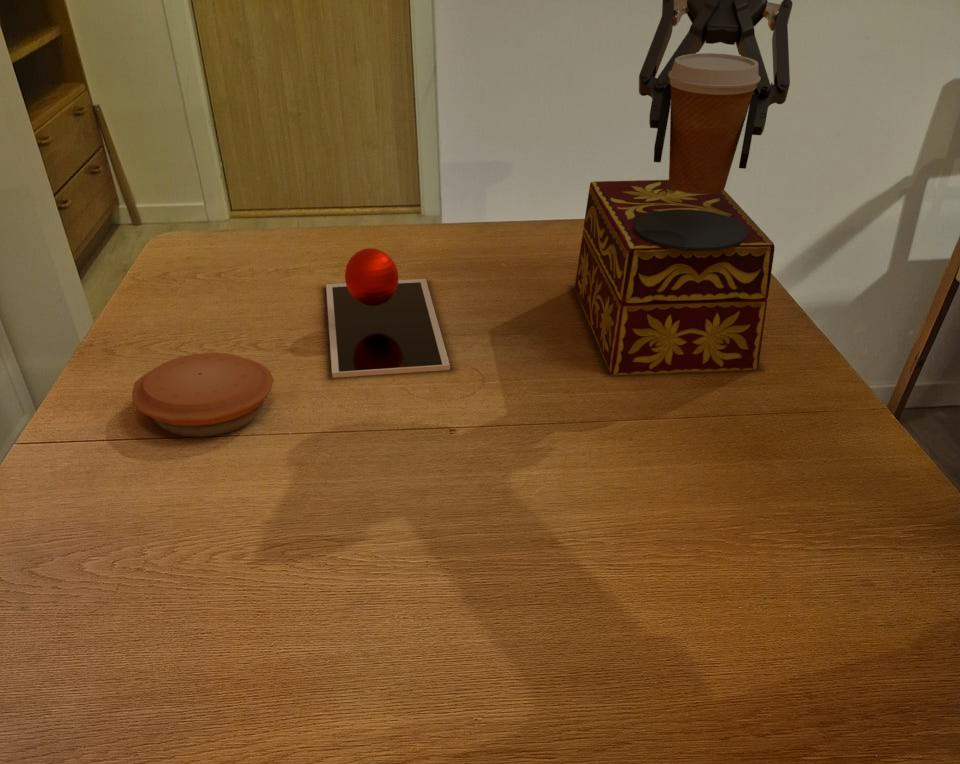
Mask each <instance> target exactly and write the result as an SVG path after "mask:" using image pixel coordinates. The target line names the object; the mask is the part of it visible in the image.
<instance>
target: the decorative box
mask: <svg viewBox="0 0 960 764" xmlns="http://www.w3.org/2000/svg"><path fill="white" fill-rule="evenodd" d="M678 209H684V210H700V211H707V212H713V213H717V214H721V215H725V216H728V217H730V218H733V219H735V220H737V221H739V222H741V223H742V224H743V225H744V226H745V227H746V228H747V231H748V234H747V238H746V240H745V241H744V242H743V243H741V244H739V245H737V246H735V247H731V248H728V249H723V250H716V251H685V250H677V249H671V248H666V247H662V246H658V245H655V244H652V243H650V242H647V241H645V240H644V239H642V238H640V237H639V236H638V235H637V234H636V233H635V231H634V225H635V222H636V220H637V219H638V218H640V217H642V216H644V215H646V214H649V213H653V212H657V211H664V210H678ZM583 220H584V222H583V230H582V234H581V242H580V248H579V255H578V262H577V268H576V274H575V283H574V290H575V293H576V295H577V299H578V301H579V303H580V306H581V309H582V310H583V312H584V315H585V317H586V320H587V322H588V325H589V327H590V329H591V331H592V334H593V337H594V339H595V341H596V344H597V346H598V348H599V351H600V353H601V355H602V358H603V360H604V362H605V364H606V367H607V370H608V371H609V373H610V375H611V376H628V375H630V376H631V375H632V376H633V375H655V374H656V375H657V374H682V373H705V372H706V373H707V372H710V373H711V372H731V371H732V372H733V371H755V370H758V369H759V364H760V357H761V351H762V343H763V337H764V336H763V335H764V328H765V322H766V314H767V308H768V307H767V306H768V300H767V299H768V298H769V292H770V286H771V279H772V272H773V271H772V270H773V264H774V258H775V257H774V256H775V248H776V247H775V244H774V242H773V241H772V240H771V239H770V238H769V236H767V234H766V233H765V232H764V231H763V229H761V227H760V226H758V224H757V223H756V222H755V221H754V220H753V219H752V217H750V216H749V215H748V214H747V212H745V211H744V209H743V208H742V207H741V206H740V205H739V204H738V203H737V202H736V201H735V200H734V199H733V197H732V196H731V195H730V194H729V193H728V192H727V191H726V190H725V189H724V190H722V191H720V192H717V193H712V194H691V193H685V192H681V191H677V190H675V189H673V188H671V187H670V186H669V179H640V180H639V179H637V180H635V179H634V180H633V179H631V180H599V181H597V180H596V181H590V183H589V187H588V193H587V201H586V207H585V214H584V219H583Z"/></svg>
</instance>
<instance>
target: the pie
mask: <svg viewBox="0 0 960 764" xmlns="http://www.w3.org/2000/svg"><path fill="white" fill-rule="evenodd" d="M274 380H275V379H274V377H273V375H272V372H271V370H270V369H268V368H267V367H266V366H265V365H264V364H262V363H261V362H258V361H255V360H252V359H250V358H248V357H247V358H246V357H242V356H240V355H236V354H230V353H224V352H223V353H222V352H203V353H193V354H189V355H183V356H179V357H176V358H173V359H171V360H168V361H165V362H163V363H161V364H160V365H158V366H156V367H154V368H153V369H152V370H149V371H148V372H146V373H145V374H143V375H142V376H140V378H137V380H135V381H134V384H133V388H132V391H131V392H132V393H131V394H132V395H131V397H132V404H133V405H134V406H135V408H136V409H137V410H138V411H139V412H140V413H142V414H143V415H145V416H147V417H149V418H151V419H152V420H153V421H154V422H155V423H156V424H157V425H159V426H160V428H162V429H163V430H164V431H167V432H169V433H170V434H173V435H177V436H182V437H185V438H189V437H190V438H207V437H217V436H220V435H225V434H229V433H232V432H235V431H237V430H239V429H242V428H244V427H246V426H247V425H248V424H250V423H251V422H253V421H254V420H255V419H256V417H257V416H258V415H259V413H260V411H261V409H262V407H263V405H264V403H265V400H266V399H267V398H268V395H269V394H270V392H271V390H272V387H273V385H274V382H275V381H274Z"/></svg>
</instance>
